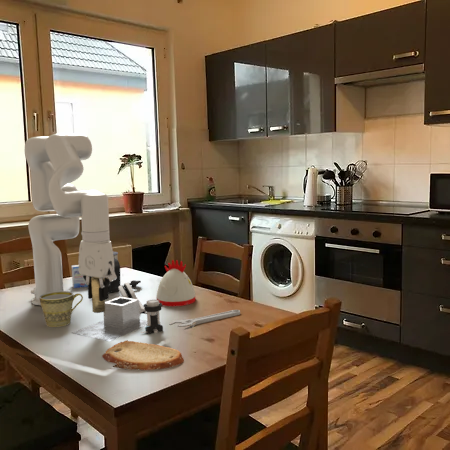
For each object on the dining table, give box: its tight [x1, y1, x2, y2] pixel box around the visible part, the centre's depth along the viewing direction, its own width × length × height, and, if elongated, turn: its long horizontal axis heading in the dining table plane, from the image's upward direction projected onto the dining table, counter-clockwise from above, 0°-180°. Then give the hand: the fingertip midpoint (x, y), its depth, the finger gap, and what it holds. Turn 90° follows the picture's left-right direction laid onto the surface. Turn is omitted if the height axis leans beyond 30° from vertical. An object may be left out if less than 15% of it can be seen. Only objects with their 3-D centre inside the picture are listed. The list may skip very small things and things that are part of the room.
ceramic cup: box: [39, 290, 84, 328], centre depth 160 cm, size 13×10×10 cm
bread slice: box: [101, 340, 185, 371], centre depth 133 cm, size 18×18×4 cm
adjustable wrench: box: [169, 309, 241, 331], centre depth 162 cm, size 25×6×2 cm, turn 120°
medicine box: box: [71, 264, 88, 289], centre depth 210 cm, size 8×4×9 cm, turn 111°
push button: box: [140, 299, 164, 335], centre depth 150 cm, size 7×5×10 cm
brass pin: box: [91, 277, 106, 314], centre depth 150 cm, size 4×4×10 cm
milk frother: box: [104, 251, 141, 294], centre depth 203 cm, size 14×16×15 cm
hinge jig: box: [71, 296, 147, 342], centre depth 155 cm, size 15×19×8 cm
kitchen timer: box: [155, 259, 196, 307], centre depth 185 cm, size 14×14×15 cm
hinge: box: [118, 282, 147, 315], centre depth 177 cm, size 17×5×10 cm, turn 19°
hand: (98, 298), depth 150 cm, fingers closed on brass pin, 3 cm apart
